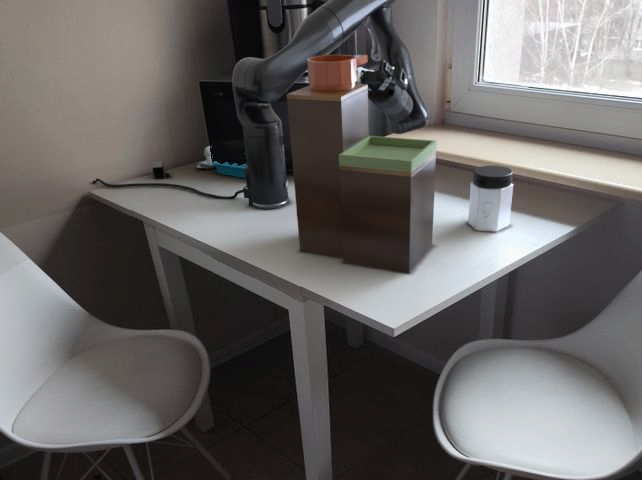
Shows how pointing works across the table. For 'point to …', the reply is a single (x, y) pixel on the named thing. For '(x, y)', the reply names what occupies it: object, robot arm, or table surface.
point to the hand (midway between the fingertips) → (361, 64)
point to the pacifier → (208, 161)
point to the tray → (388, 153)
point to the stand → (354, 187)
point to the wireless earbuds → (159, 170)
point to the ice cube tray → (230, 169)
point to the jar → (490, 198)
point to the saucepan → (333, 72)
